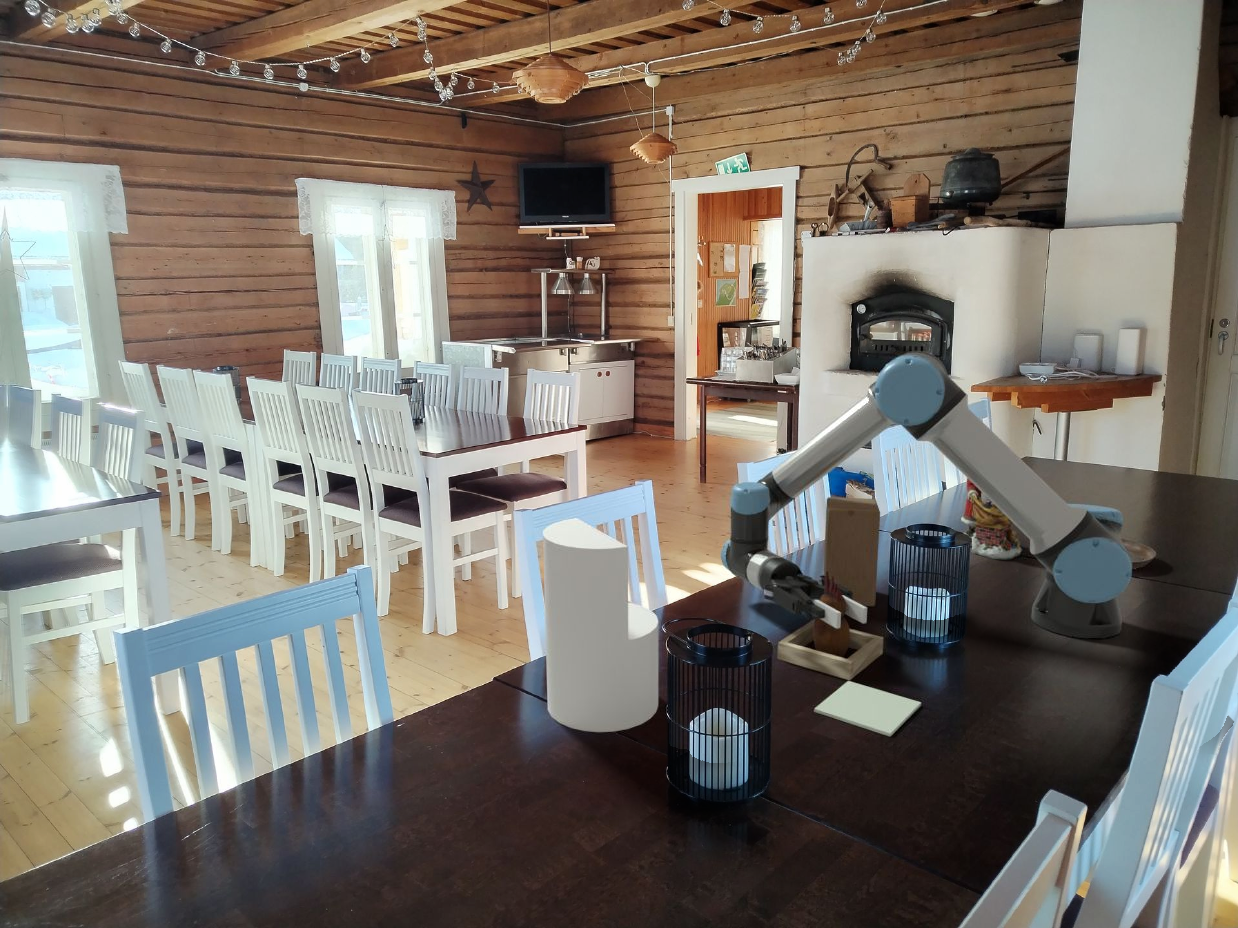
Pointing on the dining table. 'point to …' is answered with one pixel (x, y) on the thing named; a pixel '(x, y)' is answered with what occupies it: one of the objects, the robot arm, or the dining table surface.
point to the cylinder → (595, 633)
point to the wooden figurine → (826, 634)
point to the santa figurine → (988, 527)
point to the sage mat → (868, 708)
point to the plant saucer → (1139, 552)
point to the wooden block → (853, 546)
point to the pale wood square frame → (837, 666)
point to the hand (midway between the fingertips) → (851, 617)
